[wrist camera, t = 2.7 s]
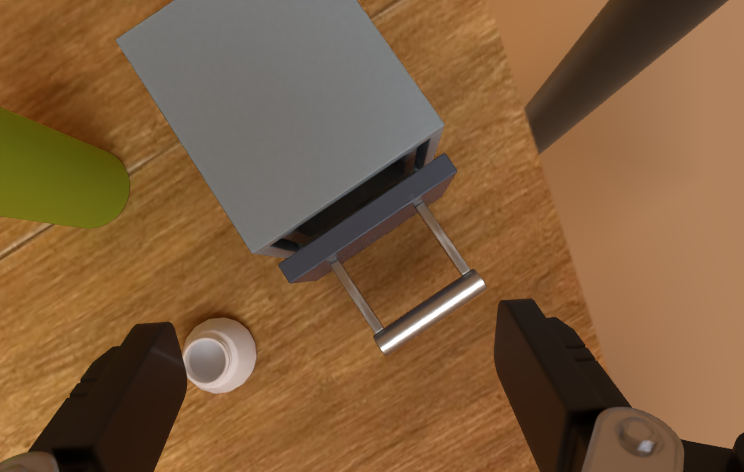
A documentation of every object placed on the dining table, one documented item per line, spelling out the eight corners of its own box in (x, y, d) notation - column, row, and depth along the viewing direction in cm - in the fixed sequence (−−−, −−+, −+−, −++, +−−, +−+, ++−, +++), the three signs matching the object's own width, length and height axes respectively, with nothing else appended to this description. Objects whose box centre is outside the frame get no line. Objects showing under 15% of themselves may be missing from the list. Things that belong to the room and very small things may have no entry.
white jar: (184, 322, 32) (191, 394, 32) (163, 326, 29) (170, 406, 29) (253, 313, 32) (261, 385, 32) (239, 317, 29) (247, 397, 29)
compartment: (495, 271, 31) (529, 272, 23) (366, 358, 31) (356, 388, 23) (341, 51, 32) (325, -18, 25) (219, 133, 32) (164, 89, 25)
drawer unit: (430, 168, 32) (445, 124, 23) (294, 259, 32) (251, 254, 23) (325, 17, 34) (297, -84, 24) (194, 105, 34) (114, 39, 24)
